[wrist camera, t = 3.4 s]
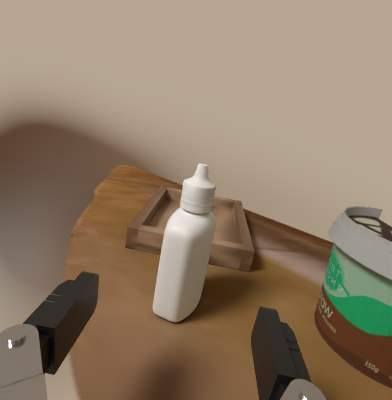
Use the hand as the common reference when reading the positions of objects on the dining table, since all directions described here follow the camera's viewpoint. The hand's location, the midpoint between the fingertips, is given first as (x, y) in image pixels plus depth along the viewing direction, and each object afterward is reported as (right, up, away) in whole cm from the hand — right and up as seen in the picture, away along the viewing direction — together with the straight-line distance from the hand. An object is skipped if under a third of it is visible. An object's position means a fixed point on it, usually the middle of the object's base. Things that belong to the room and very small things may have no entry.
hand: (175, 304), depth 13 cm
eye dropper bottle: (-1, -4, +10) cm, 11 cm away
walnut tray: (+1, +1, +25) cm, 25 cm away
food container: (+13, -6, +10) cm, 18 cm away
